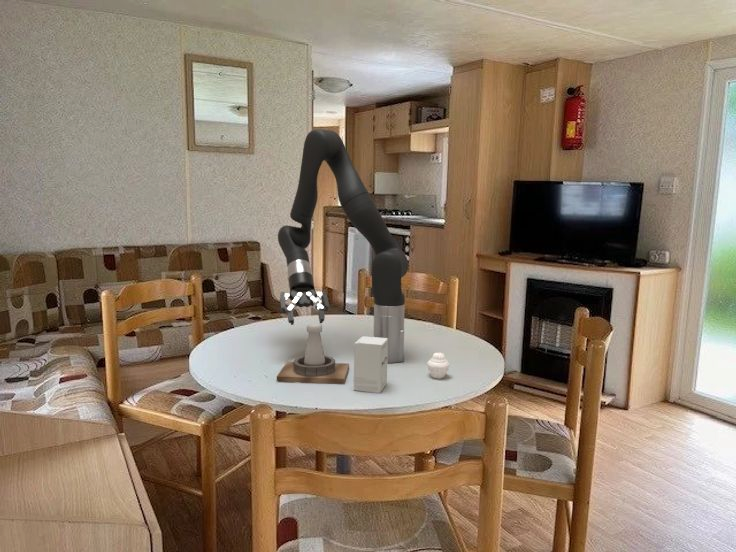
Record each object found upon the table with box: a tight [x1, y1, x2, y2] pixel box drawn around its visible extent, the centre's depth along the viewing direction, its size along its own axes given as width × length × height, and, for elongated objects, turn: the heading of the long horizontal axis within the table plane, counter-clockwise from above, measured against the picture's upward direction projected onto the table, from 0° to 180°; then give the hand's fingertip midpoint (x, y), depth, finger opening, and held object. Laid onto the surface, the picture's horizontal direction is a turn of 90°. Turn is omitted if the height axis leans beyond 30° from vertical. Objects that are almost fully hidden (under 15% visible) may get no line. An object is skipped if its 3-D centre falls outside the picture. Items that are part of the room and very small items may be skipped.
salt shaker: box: [304, 322, 325, 366], centre depth 146 cm, size 6×6×13 cm
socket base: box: [276, 355, 350, 385], centre depth 147 cm, size 18×13×4 cm
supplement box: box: [353, 335, 388, 394], centre depth 137 cm, size 7×7×13 cm
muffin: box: [426, 352, 450, 379], centre depth 147 cm, size 6×6×7 cm
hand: (307, 322), depth 155 cm, fingers open, 8 cm apart
